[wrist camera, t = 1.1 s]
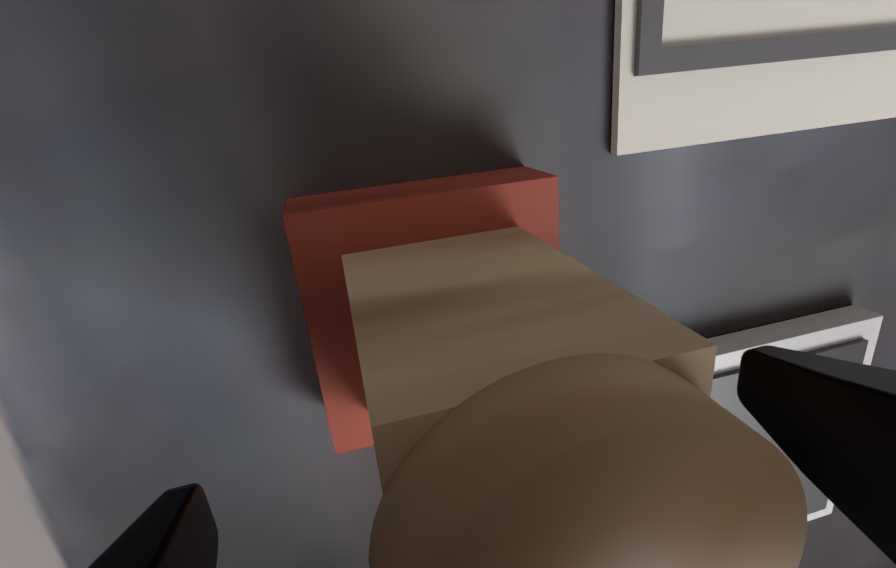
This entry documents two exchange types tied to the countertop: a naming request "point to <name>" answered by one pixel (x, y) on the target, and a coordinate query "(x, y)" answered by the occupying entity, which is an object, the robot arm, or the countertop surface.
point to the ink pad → (819, 334)
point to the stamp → (523, 391)
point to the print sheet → (747, 68)
